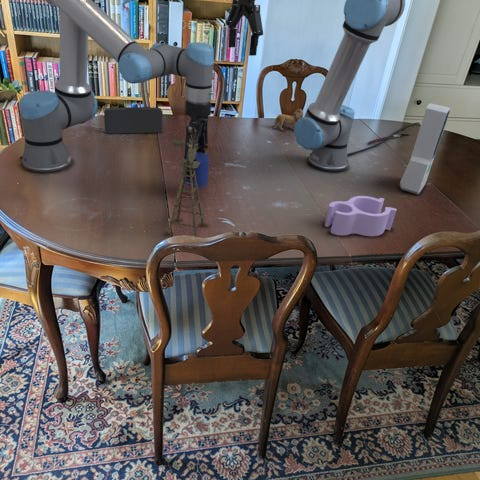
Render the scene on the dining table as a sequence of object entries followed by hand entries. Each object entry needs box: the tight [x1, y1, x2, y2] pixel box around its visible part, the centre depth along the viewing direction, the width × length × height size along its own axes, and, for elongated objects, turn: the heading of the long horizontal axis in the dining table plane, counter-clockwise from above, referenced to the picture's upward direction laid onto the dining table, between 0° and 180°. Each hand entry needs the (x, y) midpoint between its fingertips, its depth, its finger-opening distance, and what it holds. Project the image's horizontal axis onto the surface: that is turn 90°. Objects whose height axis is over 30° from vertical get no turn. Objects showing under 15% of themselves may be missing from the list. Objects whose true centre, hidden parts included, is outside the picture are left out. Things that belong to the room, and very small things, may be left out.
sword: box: [367, 132, 409, 145], centre depth 213 cm, size 31×3×1 cm, turn 126°
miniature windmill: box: [167, 129, 205, 238], centre depth 124 cm, size 9×8×30 cm
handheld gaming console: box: [103, 106, 164, 134], centre depth 189 cm, size 23×3×10 cm, turn 108°
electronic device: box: [399, 102, 452, 195], centre depth 163 cm, size 12×8×30 cm, turn 148°
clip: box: [324, 195, 398, 237], centre depth 141 cm, size 20×12×7 cm, turn 109°
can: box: [182, 152, 210, 188], centre depth 147 cm, size 8×8×8 cm
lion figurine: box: [271, 108, 305, 131], centre depth 210 cm, size 15×5×9 cm, turn 110°
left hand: (195, 172), depth 147 cm, fingers closed on can, 8 cm apart
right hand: (241, 51), depth 173 cm, fingers open, 13 cm apart
